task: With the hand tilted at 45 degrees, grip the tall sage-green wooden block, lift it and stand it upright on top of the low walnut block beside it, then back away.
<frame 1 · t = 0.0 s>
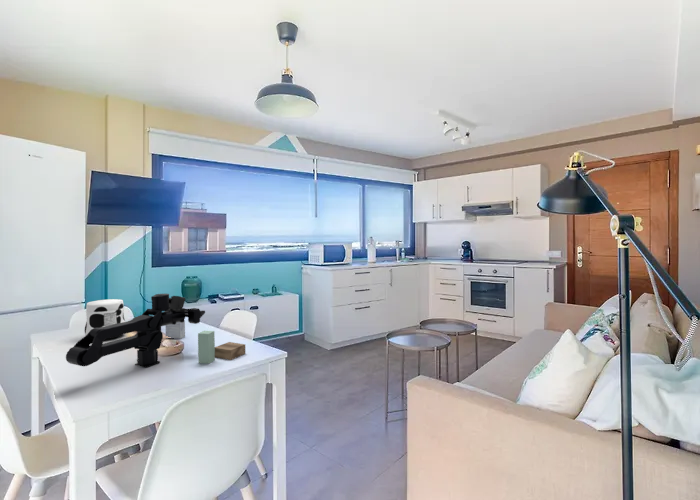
hand: (197, 310, 169), 17 cm above the table, tool horizontal, fingers open, 9 cm apart
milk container: (106, 337, 185), on the table
tall green block: (206, 361, 149), on the table
walnut block: (230, 355, 157), on the table
medicine box: (175, 338, 185), on the table
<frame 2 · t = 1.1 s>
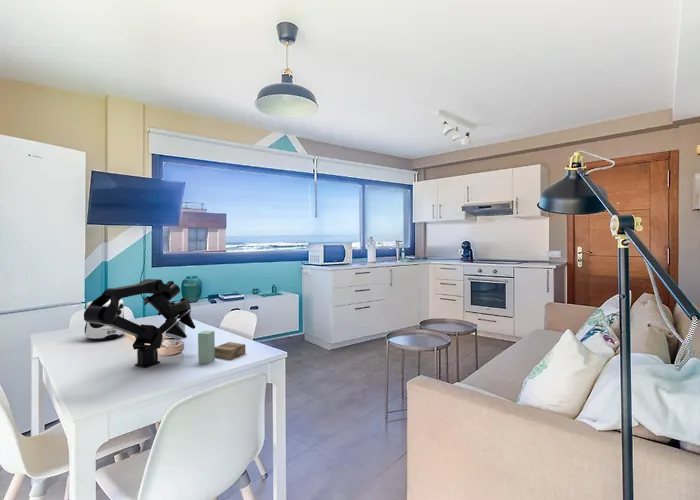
hand: (190, 332, 155), 10 cm above the table, tool tilted 40°, fingers open, 9 cm apart
nothing on the table moved.
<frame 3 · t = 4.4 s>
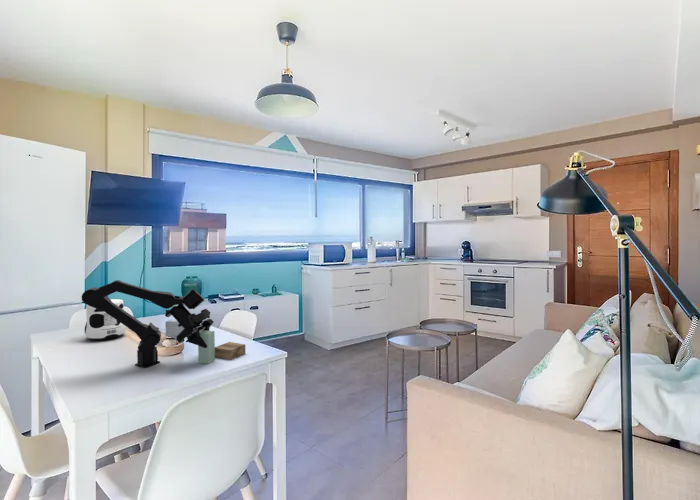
hand: (209, 345, 149), 7 cm above the table, tool tilted 45°, fingers closed on tall green block, 4 cm apart
tall green block: (206, 361, 149), on the table, touching gripper
everything else where it was.
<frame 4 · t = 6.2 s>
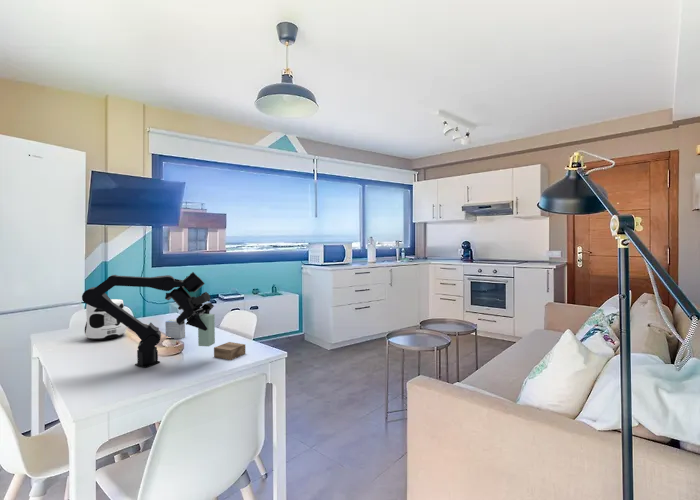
hand: (209, 328, 149), 14 cm above the table, tool tilted 45°, fingers closed on tall green block, 4 cm apart
tall green block: (206, 344, 149), point 7 cm above the table, touching gripper
everything else where it was.
when the fingers open (12 cm above the table, at t = 8.2 s): tall green block drops 1 cm, resting on walnut block.
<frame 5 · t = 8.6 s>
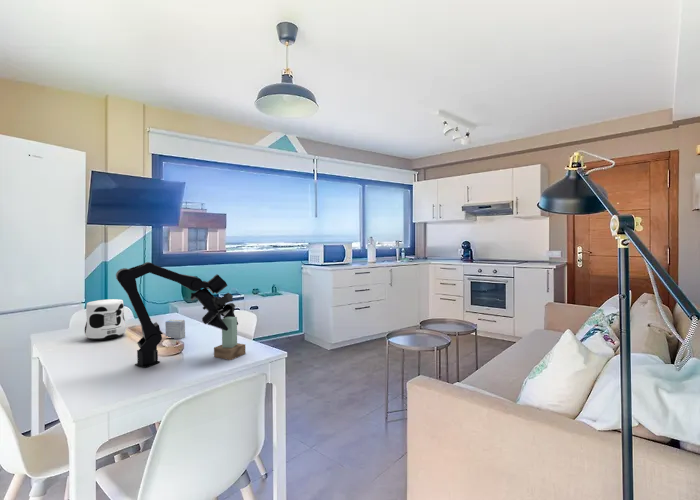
hand: (232, 327, 157), 12 cm above the table, tool tilted 45°, fingers open, 9 cm apart
tall green block: (229, 346, 157), point 4 cm above the table, touching walnut block
everything else where it was.
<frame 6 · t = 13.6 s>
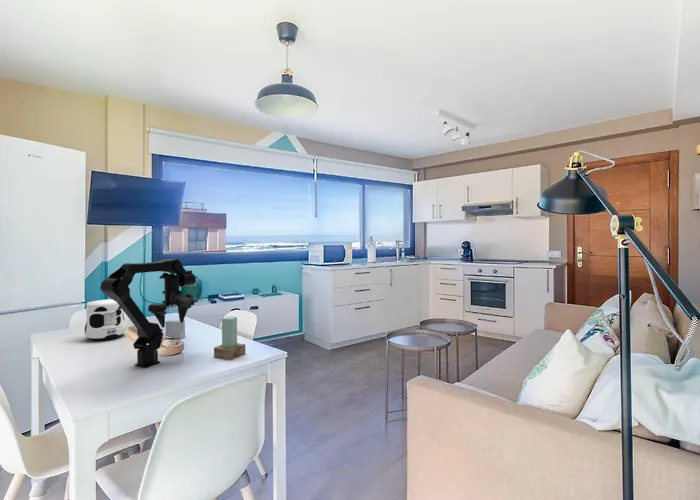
hand: (172, 325, 157), 13 cm above the table, tool pointing down, fingers open, 9 cm apart
nothing on the table moved.
at the end: tall green block 0.1 cm off-centre on the walnut block, point 4.0 cm above the walnut block's base; tall green block tilted 0°; the gripper is holding nothing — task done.
